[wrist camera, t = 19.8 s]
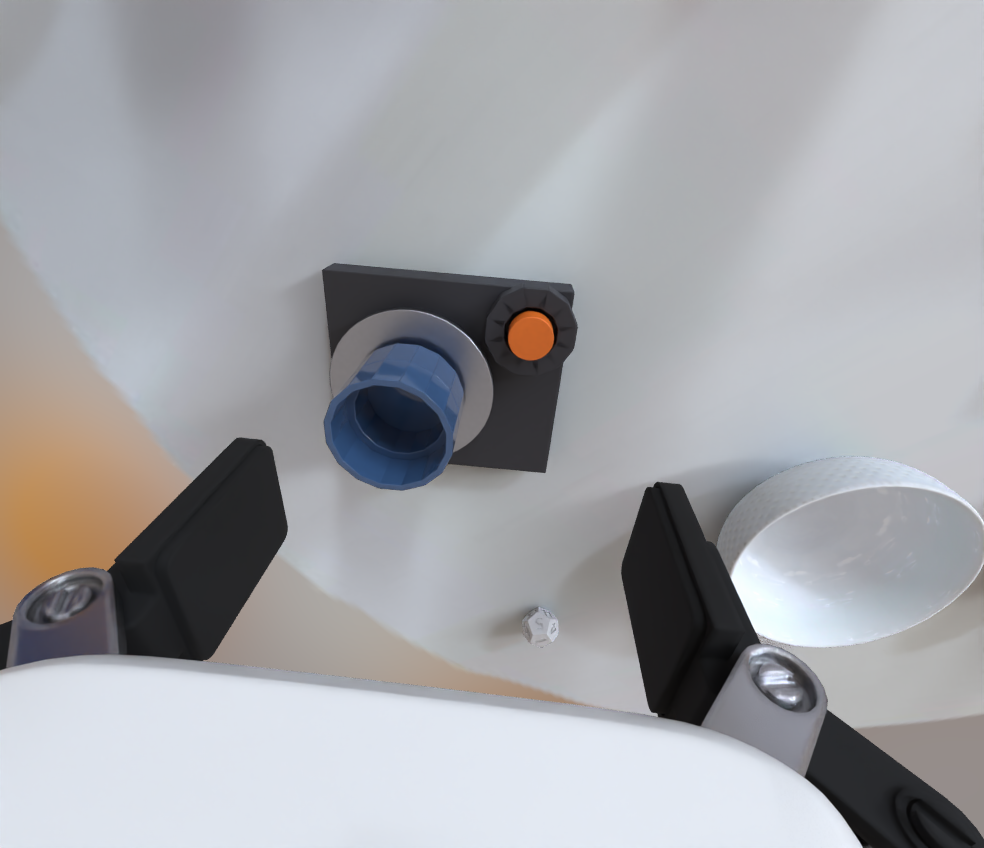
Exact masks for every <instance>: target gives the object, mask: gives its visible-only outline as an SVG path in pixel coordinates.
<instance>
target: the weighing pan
mask: <svg viewBox="0 0 984 848" xmlns="http://www.w3.org/2000/svg"><path fill="white" fill-rule="evenodd" d="M397 343H400V344H411V345H419V346H422V347H424V348H426V349H428V350H431V351H433V352H435V353H437V354H439V355H440V356H441V357H442V358H443V359H444V360H445V361H446V362H447V363H448V364H449V365H450V366H451V367H452V368H453V369H454V370H455V371H456V373H457V375H458V378H459V380H460V383H461V385H462V388H463V392H464V398H463V412H462V416H461V420H460V424H459V428H458V433H457V437H456V441H455V445H454V450H453V452H455V451H457V450H459V449H461V448H462V447H464V446H466V445H467V444H468V443H469V442H471V441H472V440H473V439H474V438H475V437H476V436H477V435H478V434H479V433H480V431H481V430H482V428H483V427H484V425H485V424H486V422H487V419H488V417H489V415H490V411H491V408H492V403H493V396H494V385H493V378H492V373H491V370H490V366H489V364H488V362H487V359H486V357H485V355H484V354H483V352H482V350H481V349H480V347H479V346H478V345H477V343H476V342H475V341H474V339H473V338H472V337H471V336H470V335H469V334H468V333H467V332H466V331H464V330H463V329H462V328H461V327H459V326H458V325H457V324H455V323H453V322H452V321H450V320H448V319H447V318H445V317H442V316H440V315H438V314H435V313H432V312H429V311H425V310H421V309H415V308H393V309H387V310H383V311H379V312H376V313H374V314H371V315H369V316H367V317H365V318H363V319H362V320H360V321H359V322H357V323H356V324H355V325H354V326H353V327H351V328H350V329H349V330H348V331H347V333H346V334H345V335H344V336H343V337H342V339H341V340H340V342H339V343H338V345H337V347H336V349H335V352H334V354H333V357H332V361H331V366H330V385H331V391H332V395H333V398H334V397H335V395H336V394H337V393H338V392H339V390H340V389H341V388H342V386H343V385H344V384H345V383H346V381H347V380H348V379H349V378H350V376H351V375H352V374H353V373H354V371H355V370H356V369H357V368H358V366H359V365H360V364H361V363H362V362H363V361H364V360H365V359H366V358H367V357H368V356H369V355H370V354H371V353H373V352H374V351H375V350H377V349H379V348H383V347H386V346H389V345H392V344H397Z"/></svg>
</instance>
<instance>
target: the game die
mask: <svg viewBox="0 0 984 848" xmlns="http://www.w3.org/2000/svg"><path fill="white" fill-rule="evenodd" d="M522 627H523V635H524V636H525V638H526V639H527V640H528V642H529V643H530V644H533V645H535V646H538V647H540V648H543V647H545V646H547V645H549V644H551V643H552V642H553V641H554V640H555V638H556V637H557V635H558V634H559V629H558V619H557V618H556V617H555V616H554V615H553V614H552V613H551V611H548V610H546V609H543V608H541V607H537V608H536V609H534V610H532V611H530V612H529V613H528V614H527V615H526V617H525V618H524V619H523V620H522Z"/></svg>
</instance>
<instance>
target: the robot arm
mask: <svg viewBox="0 0 984 848" xmlns="http://www.w3.org/2000/svg"><path fill="white" fill-rule="evenodd" d="M287 530H288V525H287V520H286V515H285V510H284V505H283V500H282V495H281V490H280V486H279V481H278V476H277V471H276V466H275V461H274V456H273V451H272V449H271V447H269V446H266V443H265V442H264V441H263V440H258V439H249V438H236V439H235V440H234V441H233V442H232V443H231V444H230V445H229V446H228V447H227V448H226V449H225V450H224V451H223V452H222V453H221V454H220V455H219V456H218V457H217V458H216V459H215V460H214V461H213V462H212V463H211V464H210V465H209V466H208V467H207V468H206V469H205V470H204V471H203V472H202V473H201V474H200V475H199V476H198V477H197V478H196V479H195V480H194V481H193V482H192V483H191V484H190V485H189V486H188V487H187V488H186V489H185V490H184V491H183V492H182V493H181V494H180V495H179V496H178V497H177V498H176V499H175V500H174V501H173V502H172V503H171V504H170V505H169V506H168V507H167V508H166V509H165V510H164V511H163V512H162V513H161V514H160V515H159V516H158V517H157V518H156V519H155V520H154V521H153V522H152V523H151V524H150V525H149V526H148V527H147V528H146V529H145V530H144V531H143V532H142V533H141V534H140V535H139V536H138V537H137V538H136V539H135V540H134V541H133V542H132V543H131V544H130V545H129V546H128V547H127V548H126V549H125V550H124V551H123V552H122V553H121V554H120V555H119V556H118V557H117V558H116V559H115V562H116V563H115V564H114V565H113V566H112V567H111V568H110V569H109V570H108V571H105V570H104V569H99V568H80V569H75V570H71V571H67V572H65V573H62V574H59V575H57V576H54V577H52V578H50V579H48V580H47V581H45V582H43V583H42V584H40V585H38V586H37V587H36V588H34V589H33V590H32V591H30V592H29V593H28V594H27V595H26V596H25V597H24V598H23V599H22V600H21V602H20V603H19V604H18V605H17V607H16V610H15V612H14V615H13V620H11V621H9V622H6V623H4V624H1V625H0V848H984V839H983V837H982V836H981V834H980V833H979V831H978V830H977V828H976V827H975V826H974V825H973V824H972V823H971V822H970V820H969V819H968V818H967V817H966V816H965V815H964V814H963V813H962V812H961V811H960V810H959V809H958V808H957V807H956V806H955V805H953V804H952V803H951V802H950V801H948V799H946V798H945V797H944V796H943V795H941V794H940V793H939V792H937V791H936V790H935V789H933V788H932V787H930V786H929V785H928V784H926V783H925V782H924V781H922V780H921V779H920V778H918V777H917V776H916V775H914V774H913V773H912V772H910V771H909V770H908V769H906V768H905V767H903V766H902V765H901V764H900V763H898V762H897V761H895V760H894V759H893V758H892V757H890V756H889V755H888V754H886V753H885V752H883V751H882V750H881V749H879V748H878V747H877V746H875V745H874V744H873V743H871V742H870V741H869V740H867V739H866V738H865V737H863V736H862V735H861V734H859V733H858V732H857V731H855V730H854V729H853V728H851V727H850V726H849V725H847V724H846V723H845V722H843V721H842V720H841V719H839V718H838V717H836V716H835V715H834V714H832V713H831V712H830V711H828V710H827V702H828V699H827V696H826V693H825V689H824V687H823V685H822V684H821V682H820V680H819V679H818V677H817V676H816V674H815V673H814V672H813V671H812V670H811V669H810V668H809V667H808V666H807V665H806V664H805V663H804V662H803V661H801V660H800V659H799V658H797V657H796V656H795V655H793V654H791V653H790V652H788V651H786V650H784V649H782V648H780V647H776V646H773V645H769V644H761V643H760V641H759V639H758V637H757V634H756V632H755V630H754V628H753V626H752V623H751V621H750V619H749V617H748V615H747V612H746V610H745V608H744V606H743V604H742V601H741V599H740V597H739V595H738V593H737V591H736V588H735V586H734V584H733V582H732V580H731V577H730V575H729V573H728V571H727V569H726V566H725V564H724V562H723V560H722V558H721V555H720V553H719V551H718V549H717V548H716V546H715V545H714V544H713V543H712V542H707V541H706V539H705V537H704V534H703V532H702V530H701V528H700V525H699V523H698V521H697V518H696V516H695V514H694V512H693V509H692V507H691V505H690V502H689V500H688V498H687V496H686V493H685V491H684V489H683V487H682V485H680V484H672V483H663V482H656V483H655V484H654V486H653V487H647V488H646V490H645V493H644V496H643V499H642V502H641V505H640V509H639V512H638V515H637V518H636V521H635V524H634V527H633V531H632V534H631V537H630V540H629V543H628V546H627V549H626V553H625V556H624V559H623V562H622V569H621V574H622V581H623V586H624V591H625V595H626V600H627V605H628V610H629V615H630V620H631V624H632V629H633V634H634V639H635V644H636V649H637V654H638V658H639V663H640V668H641V673H642V678H643V683H644V687H645V692H646V697H647V702H648V706H649V709H650V711H651V712H652V713H657V714H658V717H655V716H650V715H645V714H638V713H631V712H624V711H616V710H609V709H602V708H595V707H588V706H581V705H574V704H566V703H557V702H550V701H541V700H533V699H525V698H517V697H508V696H501V695H493V694H485V693H476V692H468V691H460V690H451V689H443V688H435V687H427V686H418V685H410V684H401V683H392V682H384V681H376V680H367V679H358V678H349V677H341V676H333V675H323V674H315V673H306V672H297V671H288V670H280V669H271V668H262V667H253V666H244V665H234V664H226V663H217V662H205V661H203V660H207V659H209V658H210V657H211V656H212V655H213V654H214V653H215V651H216V649H217V648H218V646H219V645H220V643H221V641H222V640H223V638H224V636H225V635H226V633H227V632H228V630H229V628H230V627H231V625H232V624H233V622H234V620H235V619H236V617H237V616H238V614H239V612H240V610H241V609H242V607H243V606H244V604H245V603H246V601H247V600H248V598H249V596H250V595H251V593H252V591H253V590H254V588H255V587H256V585H257V584H258V582H259V580H260V579H261V577H262V575H263V574H264V572H265V570H266V569H267V567H268V566H269V564H270V563H271V561H272V559H273V558H274V556H275V555H276V553H277V551H278V550H279V548H280V547H281V545H282V543H283V542H284V540H285V538H286V535H287Z"/></svg>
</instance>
